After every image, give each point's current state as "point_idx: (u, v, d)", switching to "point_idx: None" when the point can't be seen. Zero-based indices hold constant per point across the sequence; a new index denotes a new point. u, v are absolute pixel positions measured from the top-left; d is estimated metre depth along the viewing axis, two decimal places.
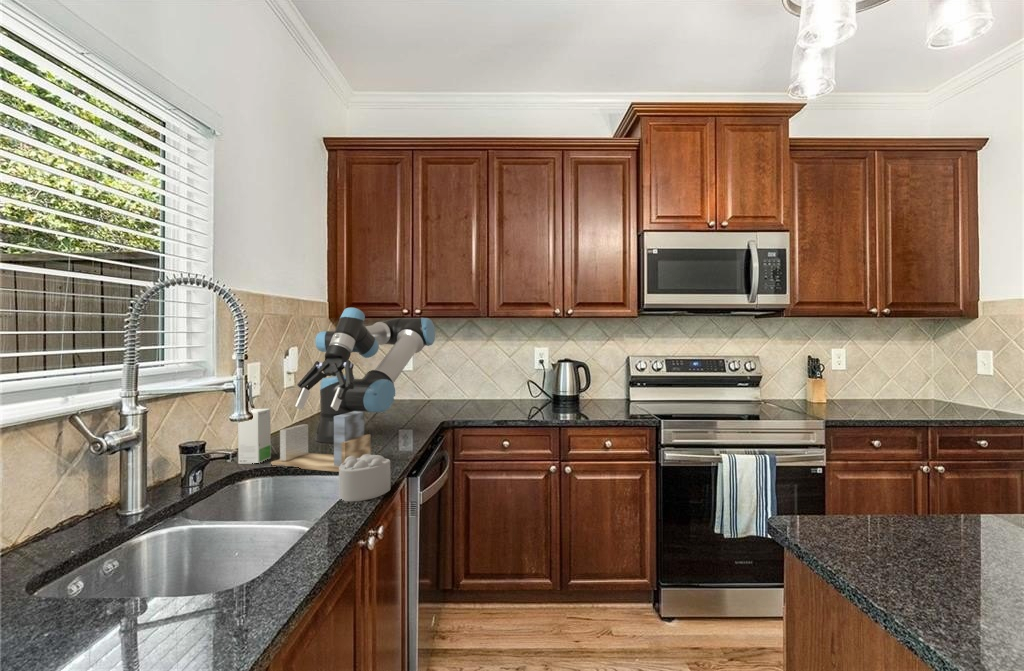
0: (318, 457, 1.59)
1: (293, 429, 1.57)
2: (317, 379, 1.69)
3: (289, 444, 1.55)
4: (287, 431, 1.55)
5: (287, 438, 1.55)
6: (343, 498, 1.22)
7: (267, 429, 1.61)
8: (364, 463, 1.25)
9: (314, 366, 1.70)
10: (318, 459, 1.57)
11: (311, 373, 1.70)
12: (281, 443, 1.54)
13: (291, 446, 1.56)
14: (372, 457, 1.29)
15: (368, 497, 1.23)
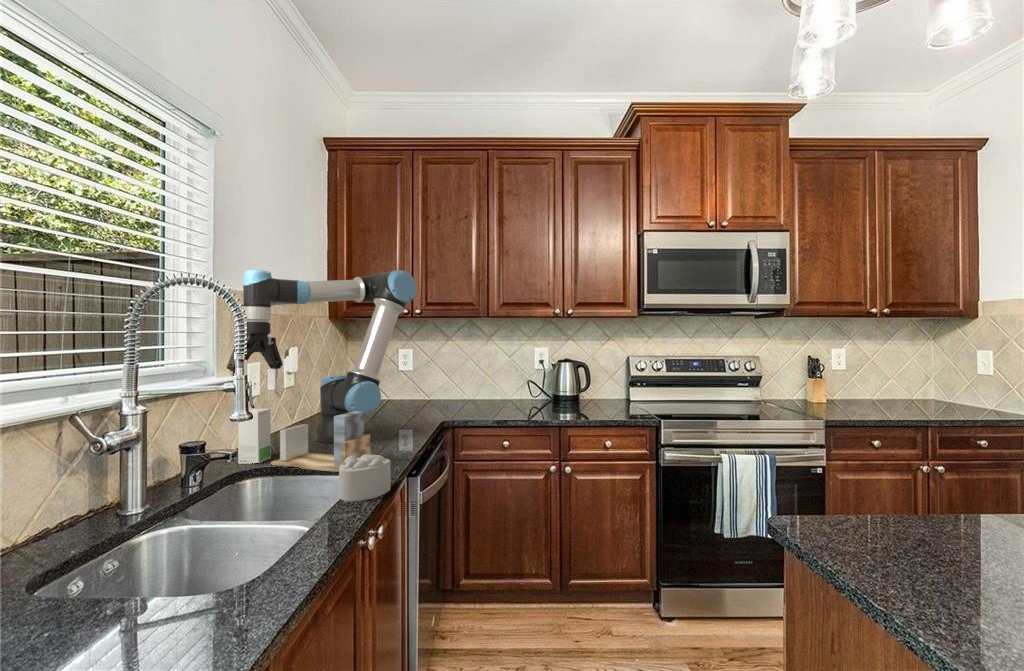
0: (318, 457, 1.59)
1: (293, 429, 1.57)
2: (267, 357, 1.64)
3: (289, 444, 1.55)
4: (287, 431, 1.55)
5: (287, 438, 1.55)
6: (343, 498, 1.22)
7: (267, 429, 1.61)
8: (364, 463, 1.25)
9: None
10: (318, 459, 1.57)
11: (270, 351, 1.66)
12: (281, 443, 1.54)
13: (291, 446, 1.56)
14: (372, 457, 1.29)
15: (368, 497, 1.23)
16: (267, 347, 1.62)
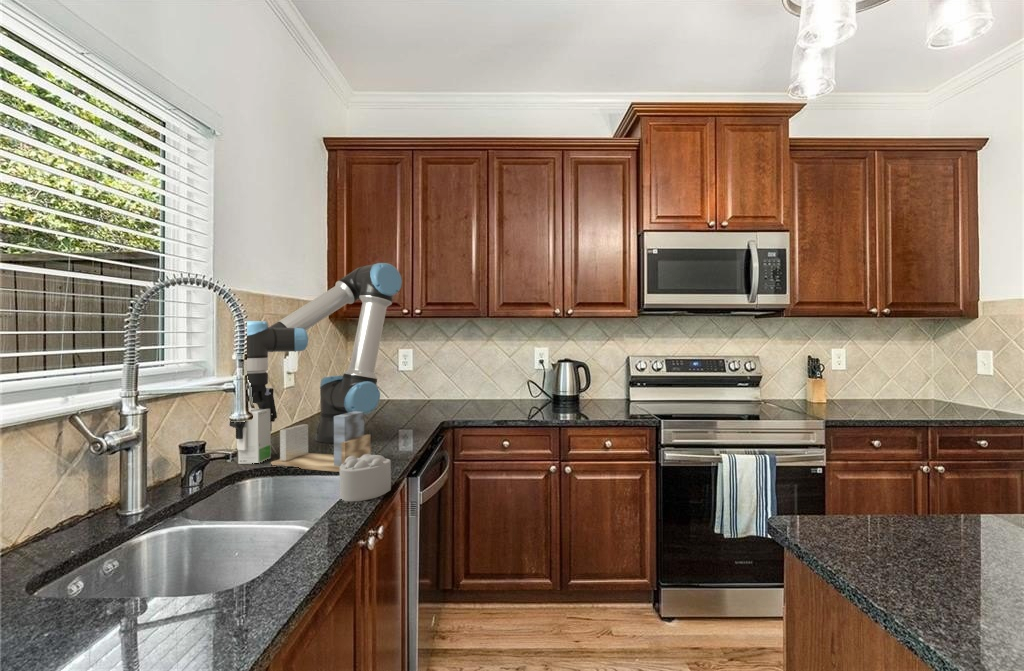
0: (318, 457, 1.59)
1: (293, 429, 1.57)
2: (262, 408, 1.63)
3: (289, 444, 1.55)
4: (287, 431, 1.55)
5: (287, 438, 1.55)
6: (344, 498, 1.22)
7: (267, 429, 1.61)
8: (365, 463, 1.25)
9: None
10: (318, 459, 1.57)
11: (266, 402, 1.65)
12: (281, 443, 1.54)
13: (291, 446, 1.56)
14: (372, 457, 1.29)
15: (369, 497, 1.23)
16: (264, 398, 1.61)
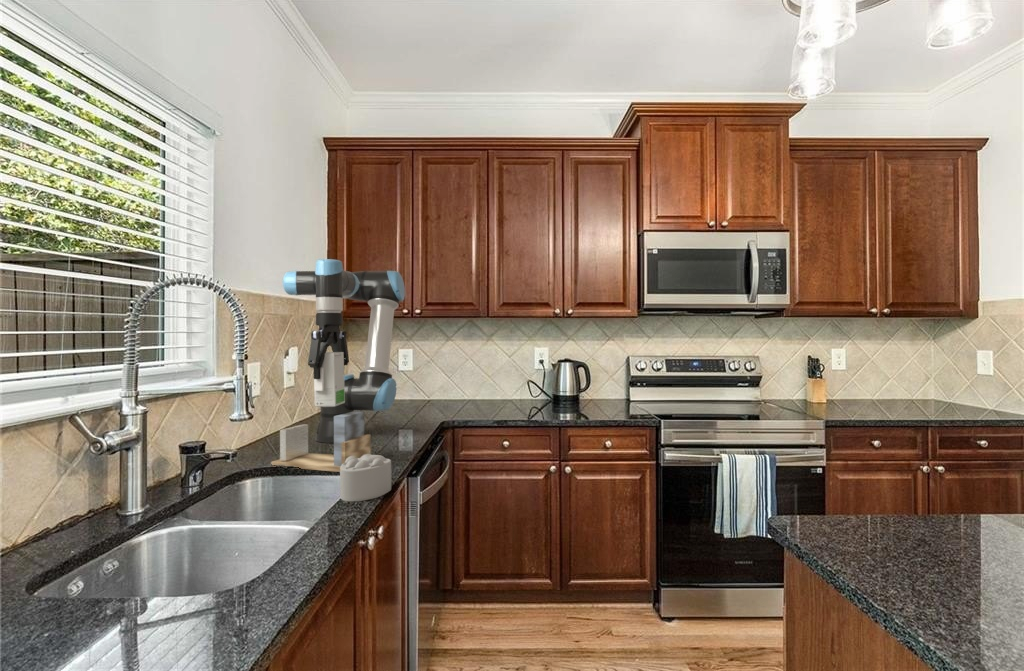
0: (318, 457, 1.59)
1: (293, 429, 1.57)
2: (336, 351, 1.58)
3: (289, 444, 1.55)
4: (287, 431, 1.55)
5: (287, 438, 1.55)
6: (344, 498, 1.22)
7: (341, 372, 1.57)
8: (365, 463, 1.25)
9: None
10: (318, 459, 1.57)
11: None
12: (281, 443, 1.54)
13: (291, 446, 1.56)
14: (373, 457, 1.29)
15: (369, 497, 1.23)
16: (338, 340, 1.57)
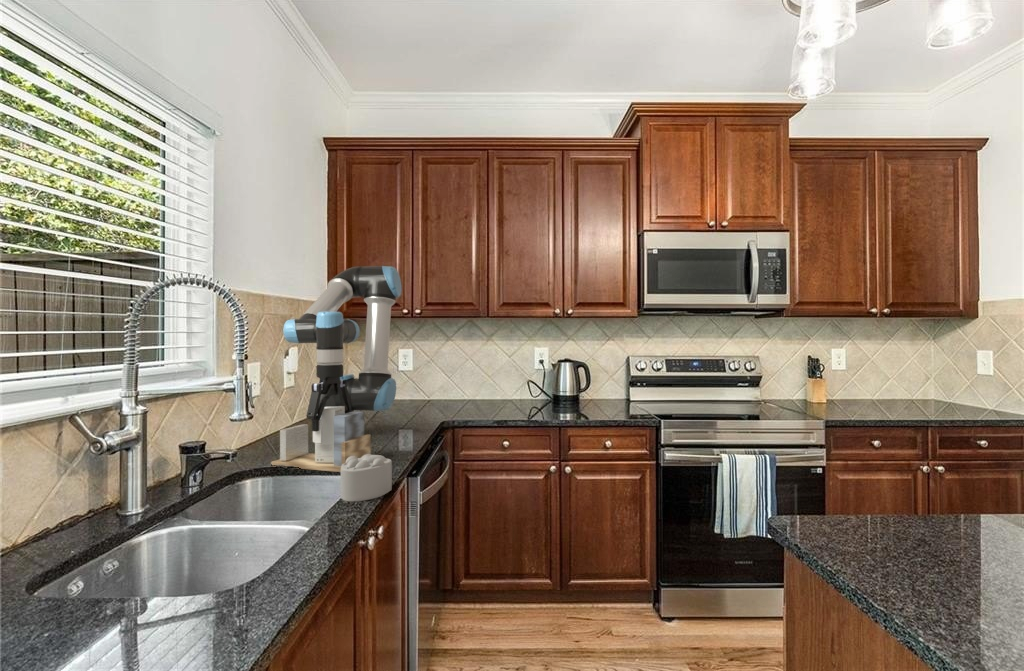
0: None
1: (293, 429, 1.57)
2: (338, 400, 1.59)
3: (289, 444, 1.55)
4: (287, 431, 1.55)
5: (287, 438, 1.55)
6: (345, 498, 1.22)
7: None
8: (366, 463, 1.25)
9: None
10: None
11: None
12: (281, 443, 1.54)
13: (291, 446, 1.56)
14: (373, 457, 1.29)
15: (370, 497, 1.23)
16: (339, 390, 1.57)
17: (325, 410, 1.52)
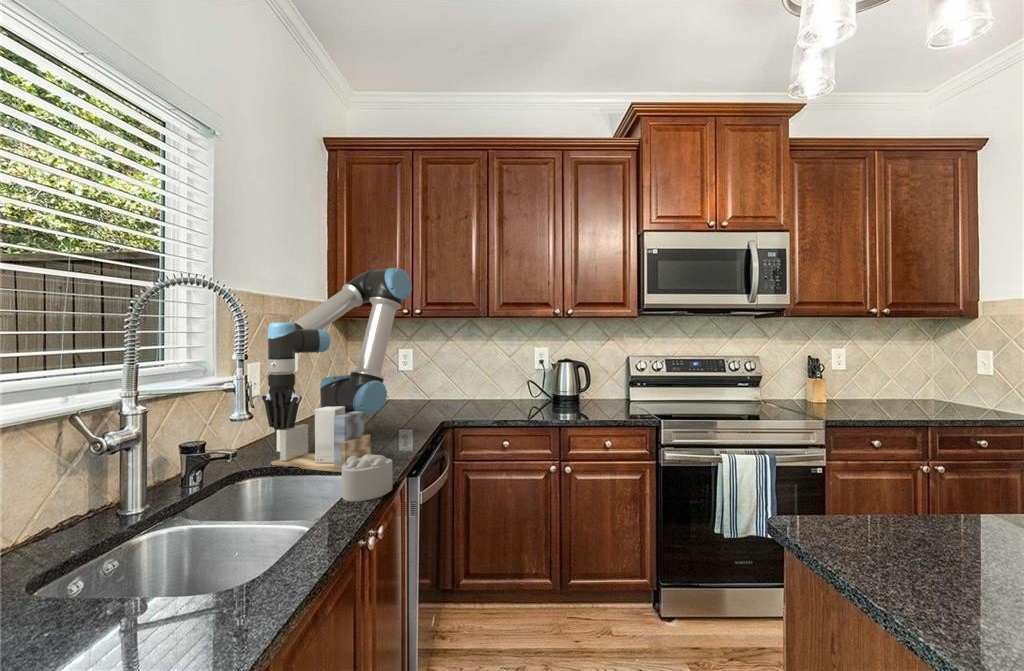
0: None
1: (293, 429, 1.57)
2: (280, 412, 1.61)
3: (289, 444, 1.55)
4: (287, 431, 1.55)
5: (287, 438, 1.55)
6: (346, 498, 1.22)
7: None
8: (367, 463, 1.25)
9: (265, 401, 1.61)
10: None
11: (269, 408, 1.61)
12: (281, 443, 1.54)
13: (291, 446, 1.56)
14: (374, 457, 1.29)
15: (371, 497, 1.23)
16: None
17: (325, 410, 1.52)
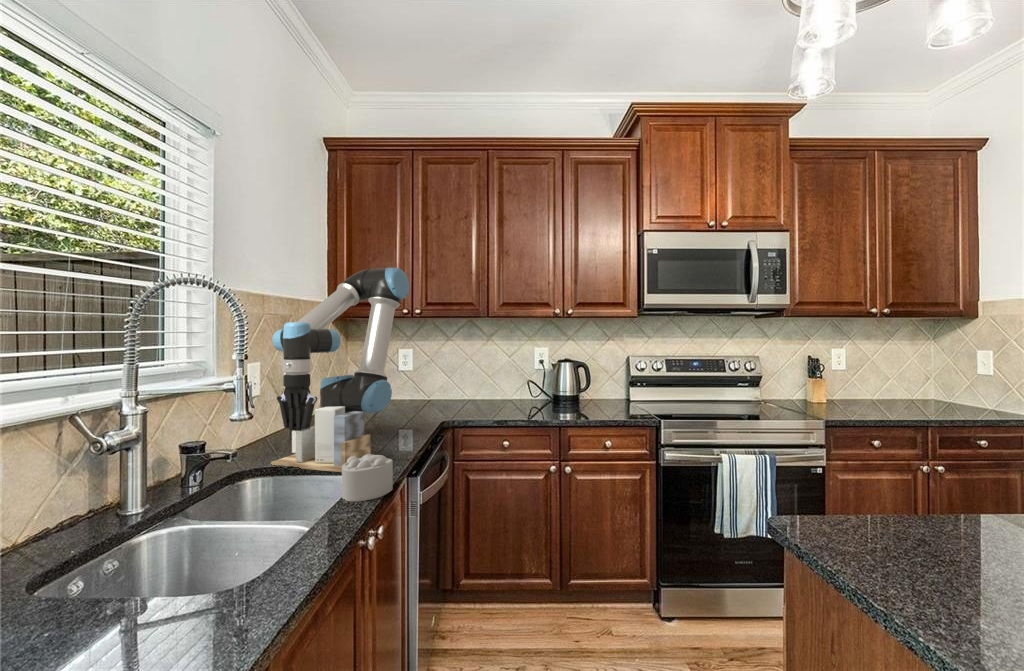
0: None
1: (309, 430, 1.56)
2: (295, 412, 1.59)
3: (304, 445, 1.54)
4: (303, 432, 1.53)
5: (303, 440, 1.53)
6: (347, 498, 1.22)
7: None
8: (367, 463, 1.25)
9: (280, 402, 1.59)
10: None
11: (284, 409, 1.59)
12: (297, 444, 1.53)
13: (306, 447, 1.55)
14: (374, 457, 1.29)
15: (372, 497, 1.23)
16: None
17: (325, 410, 1.52)
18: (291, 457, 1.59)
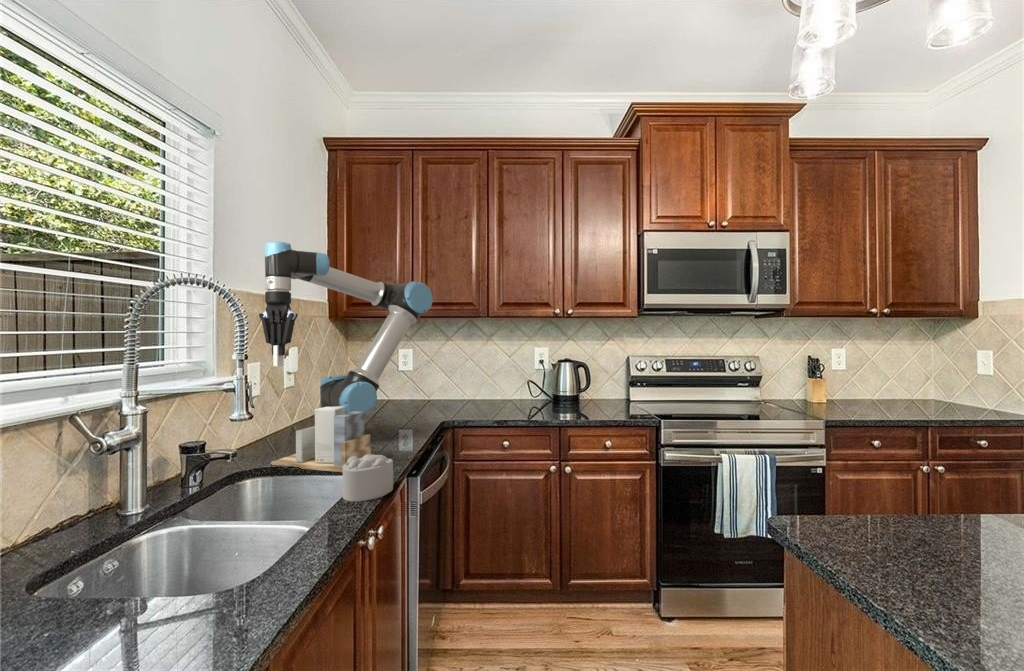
0: None
1: (309, 430, 1.56)
2: (277, 328, 1.67)
3: (304, 445, 1.54)
4: (303, 432, 1.53)
5: (303, 440, 1.53)
6: (347, 498, 1.22)
7: None
8: (368, 463, 1.25)
9: (262, 319, 1.67)
10: None
11: (266, 325, 1.67)
12: (297, 444, 1.53)
13: (306, 447, 1.55)
14: (375, 457, 1.29)
15: (373, 497, 1.23)
16: None
17: (325, 410, 1.52)
18: (291, 457, 1.59)
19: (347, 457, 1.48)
